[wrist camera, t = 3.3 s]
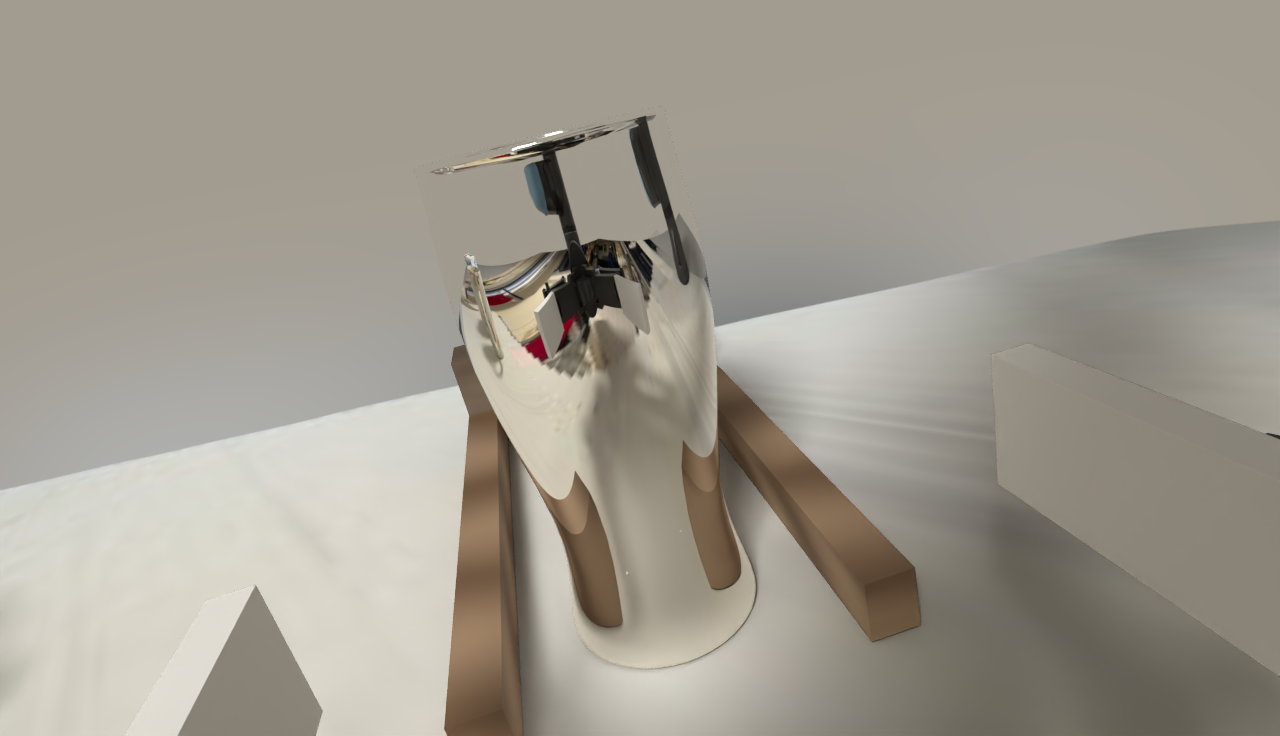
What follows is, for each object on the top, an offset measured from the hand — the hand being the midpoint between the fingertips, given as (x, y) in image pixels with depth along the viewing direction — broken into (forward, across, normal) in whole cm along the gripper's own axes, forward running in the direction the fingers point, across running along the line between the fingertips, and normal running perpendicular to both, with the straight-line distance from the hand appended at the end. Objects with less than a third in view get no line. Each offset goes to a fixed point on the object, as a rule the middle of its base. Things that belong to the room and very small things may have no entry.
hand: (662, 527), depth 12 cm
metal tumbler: (+9, 0, -9) cm, 12 cm away
